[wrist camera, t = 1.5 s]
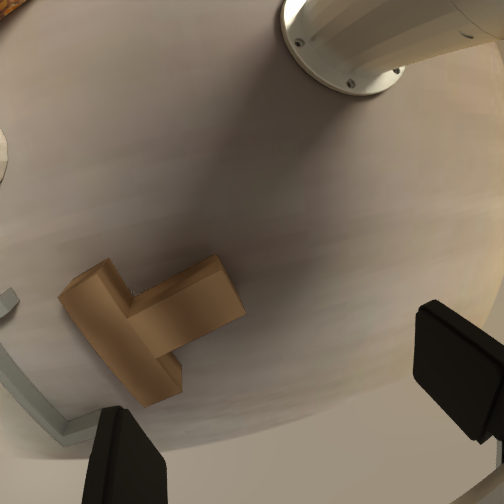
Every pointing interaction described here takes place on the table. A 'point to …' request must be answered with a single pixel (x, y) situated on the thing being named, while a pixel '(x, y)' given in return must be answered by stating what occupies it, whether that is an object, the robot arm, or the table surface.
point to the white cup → (3, 155)
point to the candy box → (8, 6)
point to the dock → (32, 400)
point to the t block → (150, 321)
